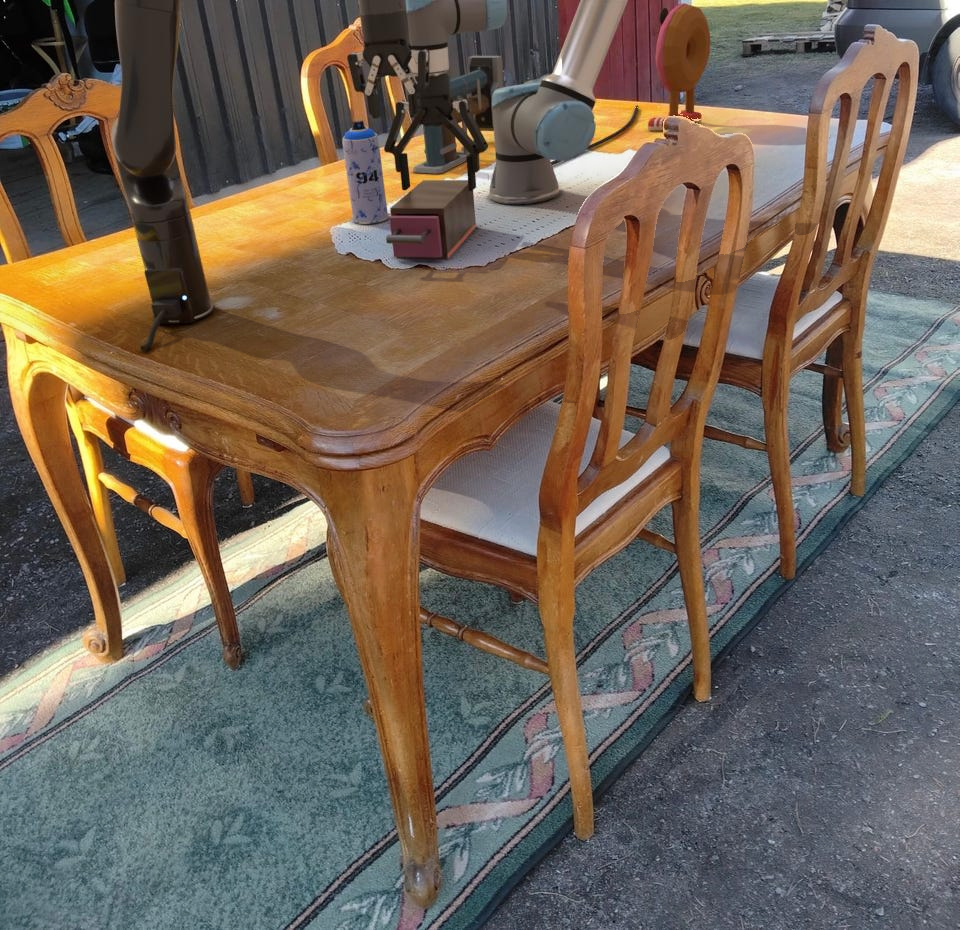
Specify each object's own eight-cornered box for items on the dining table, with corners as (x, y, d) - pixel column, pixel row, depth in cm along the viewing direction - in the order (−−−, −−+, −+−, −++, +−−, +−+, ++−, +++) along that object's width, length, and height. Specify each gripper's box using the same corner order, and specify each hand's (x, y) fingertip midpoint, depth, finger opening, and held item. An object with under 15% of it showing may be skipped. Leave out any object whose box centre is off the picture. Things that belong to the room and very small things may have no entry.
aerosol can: (355, 226, 202) (341, 127, 192) (349, 216, 209) (336, 120, 199) (392, 220, 204) (380, 122, 194) (385, 211, 210) (373, 115, 200)
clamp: (440, 173, 235) (432, 80, 224) (410, 172, 239) (400, 80, 228) (506, 140, 261) (501, 55, 250) (478, 139, 264) (472, 55, 254)
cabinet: (448, 258, 180) (443, 208, 175) (396, 257, 183) (389, 208, 178) (476, 227, 196) (472, 180, 191) (427, 226, 199) (422, 180, 194)
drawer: (430, 268, 173) (426, 227, 170) (383, 267, 176) (377, 227, 172) (467, 227, 193) (464, 190, 189) (424, 227, 195) (420, 190, 191)
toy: (679, 116, 271) (683, -2, 256) (712, 118, 265) (718, -3, 250) (639, 132, 257) (640, 8, 242) (673, 135, 251) (676, 8, 236)
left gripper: (432, 3, 157) (442, 111, 165) (350, 8, 160) (364, 113, 169) (417, 9, 150) (428, 121, 159) (332, 14, 154) (347, 123, 163)
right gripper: (499, 68, 178) (505, 184, 189) (373, 71, 184) (386, 183, 195) (489, 75, 172) (495, 194, 182) (359, 78, 178) (372, 193, 189)
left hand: (395, 116), depth 164 cm, fingers open, 6 cm apart
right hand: (439, 189), depth 189 cm, fingers open, 13 cm apart
